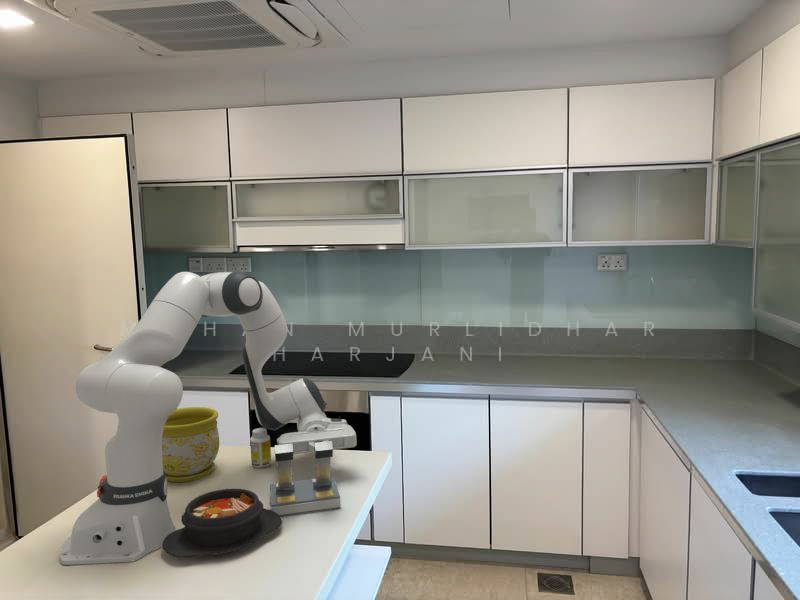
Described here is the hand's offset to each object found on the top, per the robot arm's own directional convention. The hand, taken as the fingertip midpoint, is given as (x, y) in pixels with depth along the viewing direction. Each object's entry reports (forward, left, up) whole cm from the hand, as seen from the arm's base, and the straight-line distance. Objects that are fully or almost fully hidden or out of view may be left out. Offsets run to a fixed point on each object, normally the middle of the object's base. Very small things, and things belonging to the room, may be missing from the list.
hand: (320, 451), depth 150 cm
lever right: (0, -4, -7) cm, 8 cm away
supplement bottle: (-15, +24, -11) cm, 30 cm away
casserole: (-23, -17, -11) cm, 31 cm away
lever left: (-9, -4, -7) cm, 12 cm away
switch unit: (-5, -4, -11) cm, 12 cm away
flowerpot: (-35, +24, -11) cm, 44 cm away
